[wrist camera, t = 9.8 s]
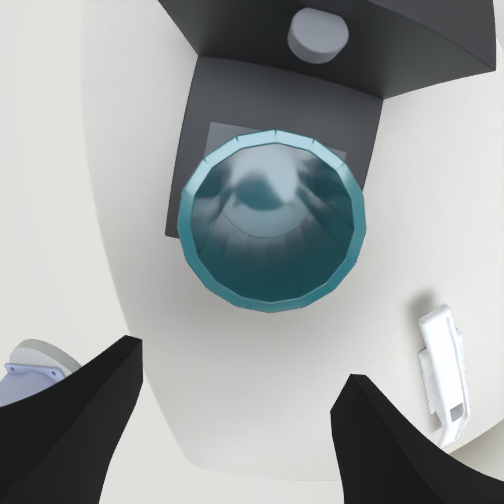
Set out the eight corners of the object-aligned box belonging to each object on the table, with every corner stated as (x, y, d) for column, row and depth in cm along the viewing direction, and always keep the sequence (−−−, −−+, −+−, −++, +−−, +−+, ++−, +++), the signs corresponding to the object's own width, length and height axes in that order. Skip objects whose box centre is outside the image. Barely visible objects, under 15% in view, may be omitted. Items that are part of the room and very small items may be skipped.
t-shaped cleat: (450, 275, 18) (493, 313, 13) (461, 414, 23) (480, 447, 18) (404, 302, 18) (440, 349, 13) (431, 431, 24) (447, 466, 19)
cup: (225, 250, 16) (203, 322, 10) (203, 149, 14) (158, 153, 8) (325, 233, 16) (369, 295, 9) (310, 130, 14) (352, 119, 7)
